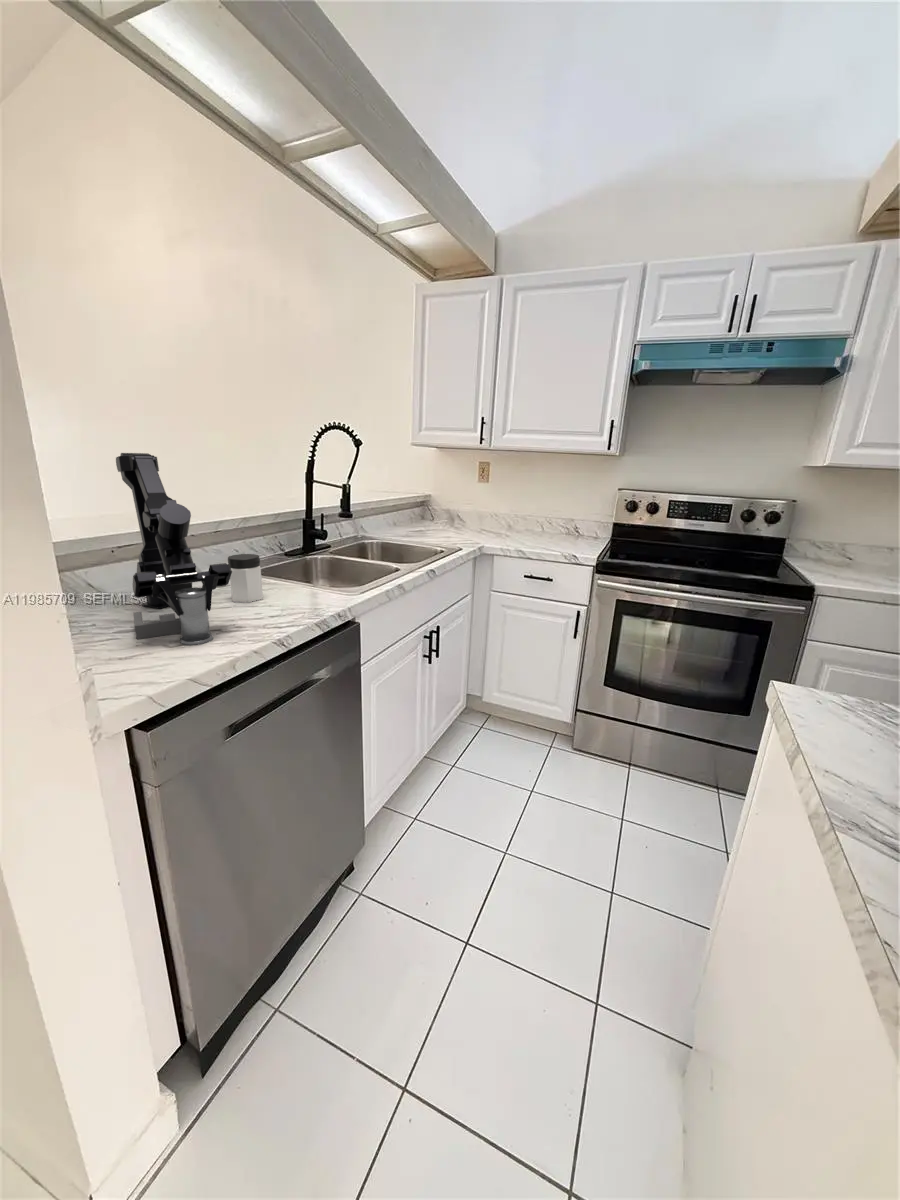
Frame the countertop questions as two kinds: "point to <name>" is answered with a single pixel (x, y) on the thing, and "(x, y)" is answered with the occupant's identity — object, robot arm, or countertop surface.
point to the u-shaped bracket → (156, 626)
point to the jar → (245, 577)
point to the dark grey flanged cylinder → (193, 616)
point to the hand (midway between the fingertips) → (194, 612)
